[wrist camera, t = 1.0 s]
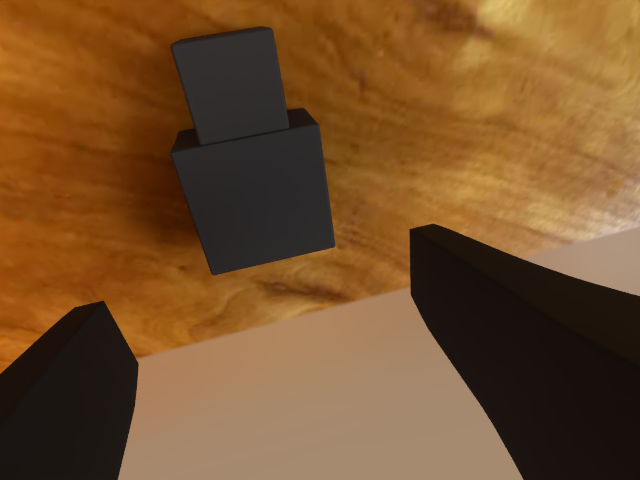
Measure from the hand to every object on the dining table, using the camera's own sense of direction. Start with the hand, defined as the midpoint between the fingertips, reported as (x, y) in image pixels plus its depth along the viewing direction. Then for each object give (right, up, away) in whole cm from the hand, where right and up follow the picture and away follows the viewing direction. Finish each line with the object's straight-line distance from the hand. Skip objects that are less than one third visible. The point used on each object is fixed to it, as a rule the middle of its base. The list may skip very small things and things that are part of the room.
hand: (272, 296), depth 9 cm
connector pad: (-2, +5, +6) cm, 8 cm away
